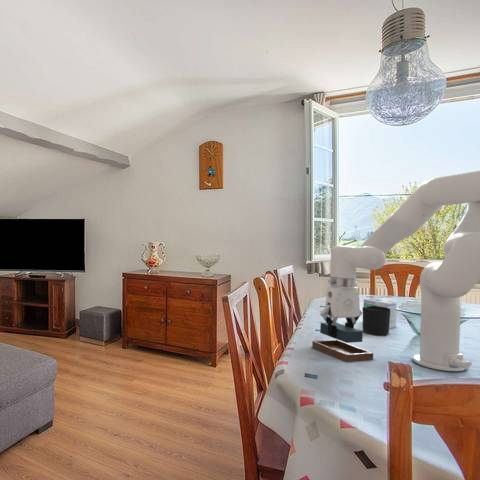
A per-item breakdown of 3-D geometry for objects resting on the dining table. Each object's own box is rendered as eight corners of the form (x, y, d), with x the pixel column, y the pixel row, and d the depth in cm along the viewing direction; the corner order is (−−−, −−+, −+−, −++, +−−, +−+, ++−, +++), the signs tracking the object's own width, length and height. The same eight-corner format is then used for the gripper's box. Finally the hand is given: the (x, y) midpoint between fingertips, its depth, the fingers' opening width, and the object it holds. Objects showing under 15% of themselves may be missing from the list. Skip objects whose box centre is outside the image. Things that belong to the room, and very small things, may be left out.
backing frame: (373, 359, 128) (373, 352, 128) (346, 361, 126) (346, 355, 126) (336, 345, 144) (336, 339, 143) (312, 347, 141) (312, 341, 141)
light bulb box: (362, 323, 176) (362, 298, 176) (372, 321, 179) (372, 297, 179) (387, 328, 167) (387, 303, 166) (397, 327, 170) (397, 301, 169)
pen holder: (393, 336, 155) (394, 311, 155) (366, 335, 157) (367, 309, 157) (383, 330, 164) (384, 306, 164) (358, 329, 166) (359, 305, 166)
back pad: (362, 341, 130) (362, 331, 129) (346, 342, 128) (347, 332, 128) (334, 332, 141) (335, 322, 141) (320, 332, 140) (320, 322, 140)
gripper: (328, 284, 128) (326, 340, 129) (373, 283, 132) (371, 337, 133) (312, 281, 136) (310, 334, 136) (355, 280, 140) (353, 331, 140)
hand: (340, 335), depth 135 cm, fingers closed on back pad, 6 cm apart
